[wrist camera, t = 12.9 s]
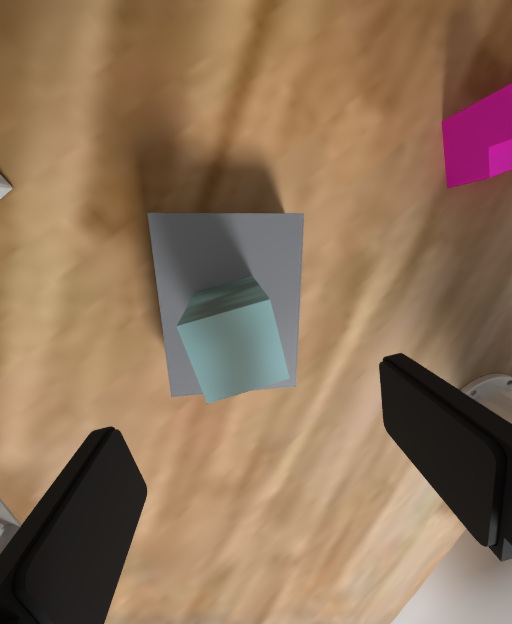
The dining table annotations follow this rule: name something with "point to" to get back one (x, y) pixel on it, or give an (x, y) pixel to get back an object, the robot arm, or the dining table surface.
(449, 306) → the dining table surface
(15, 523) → the skyscraper
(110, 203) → the dining table surface
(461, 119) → the toy block
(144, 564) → the dining table surface
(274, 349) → the teal block
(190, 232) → the plinth
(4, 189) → the tea box
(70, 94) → the dining table surface
